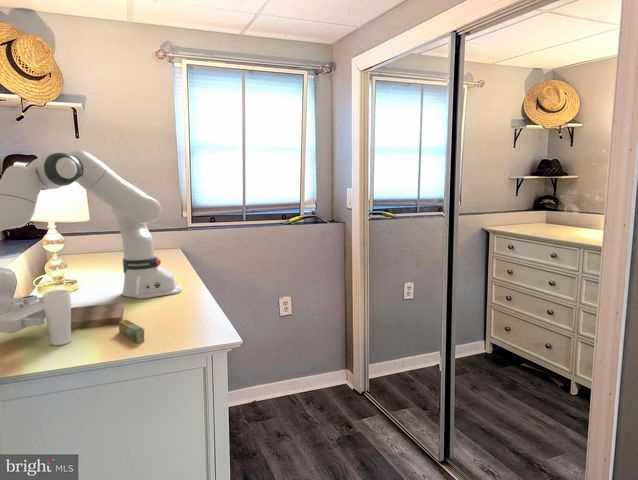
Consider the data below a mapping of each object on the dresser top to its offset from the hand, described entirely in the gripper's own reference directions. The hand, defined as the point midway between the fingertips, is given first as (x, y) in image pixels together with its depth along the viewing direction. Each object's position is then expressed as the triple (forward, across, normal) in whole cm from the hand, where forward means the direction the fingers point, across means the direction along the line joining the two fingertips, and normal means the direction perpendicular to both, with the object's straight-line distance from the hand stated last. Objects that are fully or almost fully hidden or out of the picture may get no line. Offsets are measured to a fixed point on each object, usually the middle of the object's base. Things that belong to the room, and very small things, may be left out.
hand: (54, 316), depth 134 cm
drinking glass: (+1, 0, +8) cm, 8 cm away
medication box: (+19, +8, +8) cm, 22 cm away
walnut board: (-2, +18, +8) cm, 20 cm away
